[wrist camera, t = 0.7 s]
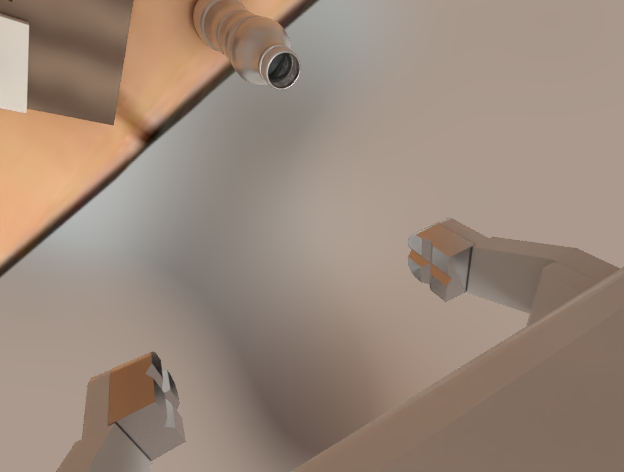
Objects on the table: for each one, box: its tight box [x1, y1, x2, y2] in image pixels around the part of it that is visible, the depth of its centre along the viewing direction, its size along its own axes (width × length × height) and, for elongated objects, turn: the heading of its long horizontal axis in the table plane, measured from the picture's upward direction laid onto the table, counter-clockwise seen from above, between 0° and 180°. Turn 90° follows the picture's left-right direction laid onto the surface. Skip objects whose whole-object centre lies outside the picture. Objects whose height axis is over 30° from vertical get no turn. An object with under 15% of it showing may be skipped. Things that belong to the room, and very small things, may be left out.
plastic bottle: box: [193, 0, 301, 90], centre depth 39 cm, size 6×7×20 cm
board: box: [0, 0, 134, 125], centre depth 35 cm, size 18×18×4 cm
